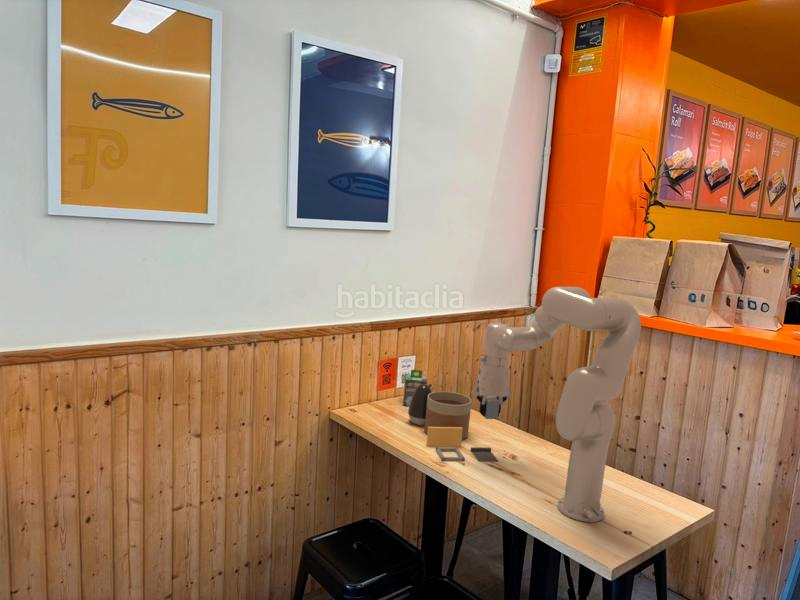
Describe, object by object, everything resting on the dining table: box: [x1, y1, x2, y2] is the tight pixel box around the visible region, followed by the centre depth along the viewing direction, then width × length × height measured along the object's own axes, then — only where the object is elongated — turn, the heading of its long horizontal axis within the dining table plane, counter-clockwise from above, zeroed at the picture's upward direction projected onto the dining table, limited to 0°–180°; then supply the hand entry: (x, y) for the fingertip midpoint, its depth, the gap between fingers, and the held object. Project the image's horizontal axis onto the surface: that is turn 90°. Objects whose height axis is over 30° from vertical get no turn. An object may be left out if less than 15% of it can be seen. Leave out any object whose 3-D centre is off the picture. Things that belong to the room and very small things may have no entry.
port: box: [426, 427, 466, 462], centre depth 194 cm, size 13×12×7 cm
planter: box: [424, 390, 472, 441], centre depth 211 cm, size 16×16×14 cm
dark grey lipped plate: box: [470, 446, 499, 463], centre depth 194 cm, size 9×7×2 cm
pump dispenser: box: [407, 383, 433, 426], centre depth 221 cm, size 10×10×15 cm
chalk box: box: [402, 369, 428, 407], centre depth 244 cm, size 9×9×15 cm
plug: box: [483, 396, 500, 420], centre depth 192 cm, size 5×4×6 cm
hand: (489, 414), depth 192 cm, fingers closed on plug, 4 cm apart
